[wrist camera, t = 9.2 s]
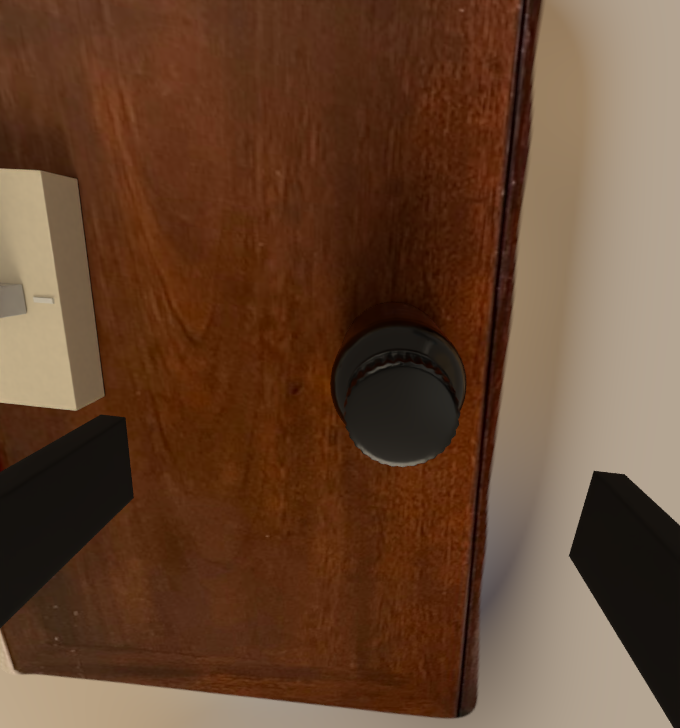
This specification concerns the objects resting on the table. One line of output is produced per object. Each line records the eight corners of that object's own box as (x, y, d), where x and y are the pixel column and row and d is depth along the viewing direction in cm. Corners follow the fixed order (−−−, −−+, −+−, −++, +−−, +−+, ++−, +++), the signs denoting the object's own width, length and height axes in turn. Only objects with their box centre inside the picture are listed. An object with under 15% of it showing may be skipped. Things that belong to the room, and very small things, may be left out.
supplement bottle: (417, 407, 28) (439, 514, 17) (331, 372, 28) (294, 455, 17) (459, 321, 26) (518, 376, 15) (366, 284, 26) (351, 309, 15)
